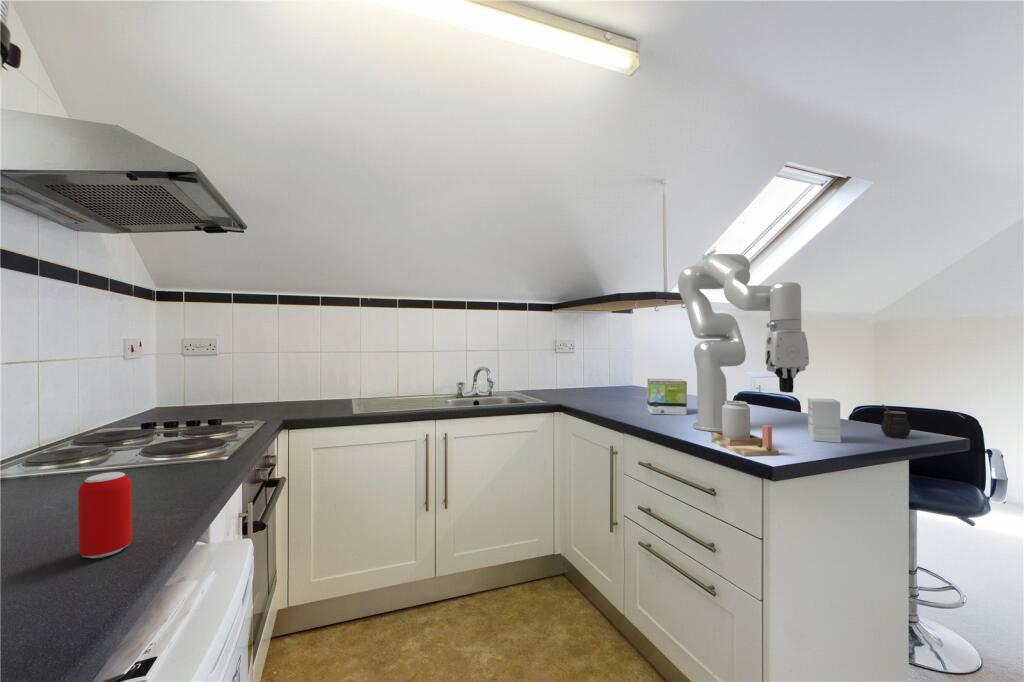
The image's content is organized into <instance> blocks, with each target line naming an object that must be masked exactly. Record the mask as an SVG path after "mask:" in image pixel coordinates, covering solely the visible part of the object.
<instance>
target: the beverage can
mask: <svg viewBox="0 0 1024 682" xmlns="http://www.w3.org/2000/svg"><path fill="white" fill-rule="evenodd" d="M77 499H78V500H77V501H78V502H77V510H78V514H77V515H78V517H77V518H78V519H77V520H78V521H77V522H78V553H79V555H80V556H81V557H83V558H88V559H101V558H105V557H109V556H112V555H115V554H117V553H119V552H121V551H122V550H123V549H125V548H126V547H128V546H129V545H130V544H131V542H132V540H133V528H132V527H133V526H132V525H133V522H132V520H133V519H132V518H133V516H132V514H133V513H132V480H131V479H130V478H129V476H128V475H127V473H125V472H122V471H111V472H103V473H99V474H95V475H90V476H88V477H87V478H86V479H84V480H83V482H82V484H80V487H79V488H78V490H77Z"/></svg>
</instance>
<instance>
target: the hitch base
mask: <svg viewBox="0 0 1024 682" xmlns="http://www.w3.org/2000/svg"><path fill="white" fill-rule="evenodd" d="M710 432H711V434H710V435H711V438H710V441H711V443H713V444H715V445H718V446H720V447H722V448H724V449H727V450H729V451H731V452H734V453H736V454H739V455H740V456H743V457H751V456H752V457H759V456H761V457H762V456H779V453H780V451H779V450H778V449H775V448H773V447H772V448H771V447H767V448H766V447H763V446H762V437H759V436H757V435H753V434H751V433H750V439H729V438H727V437H724V436H722V431H720V432H718V431H710Z"/></svg>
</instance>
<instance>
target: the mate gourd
mask: <svg viewBox="0 0 1024 682" xmlns="http://www.w3.org/2000/svg"><path fill="white" fill-rule="evenodd" d="M882 407H883V408H884V409H885V411H884V412H883V415H884V417H883V420H882V422H881V424H880V428H881V431H882V433H883V434H884V435H885V436H886V437H889V438H892V439H906V438H907V437H909V436H910V433H911V429H912V428H911V425H910V423H909V421H908V419H907V417H908V413H907V412H905V411H897V410H896V411H895V410H889V409H888V408H887V406H885V405H884V404H882Z"/></svg>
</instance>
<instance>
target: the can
mask: <svg viewBox="0 0 1024 682" xmlns="http://www.w3.org/2000/svg"><path fill="white" fill-rule="evenodd" d="M721 432H722V436H724V437H727V438H729V439H750V434H751V407H750V406H748V402H746V401H743V400H742V401H741V400H727V401H725V404H724V405H723V406H722V431H721Z"/></svg>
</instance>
